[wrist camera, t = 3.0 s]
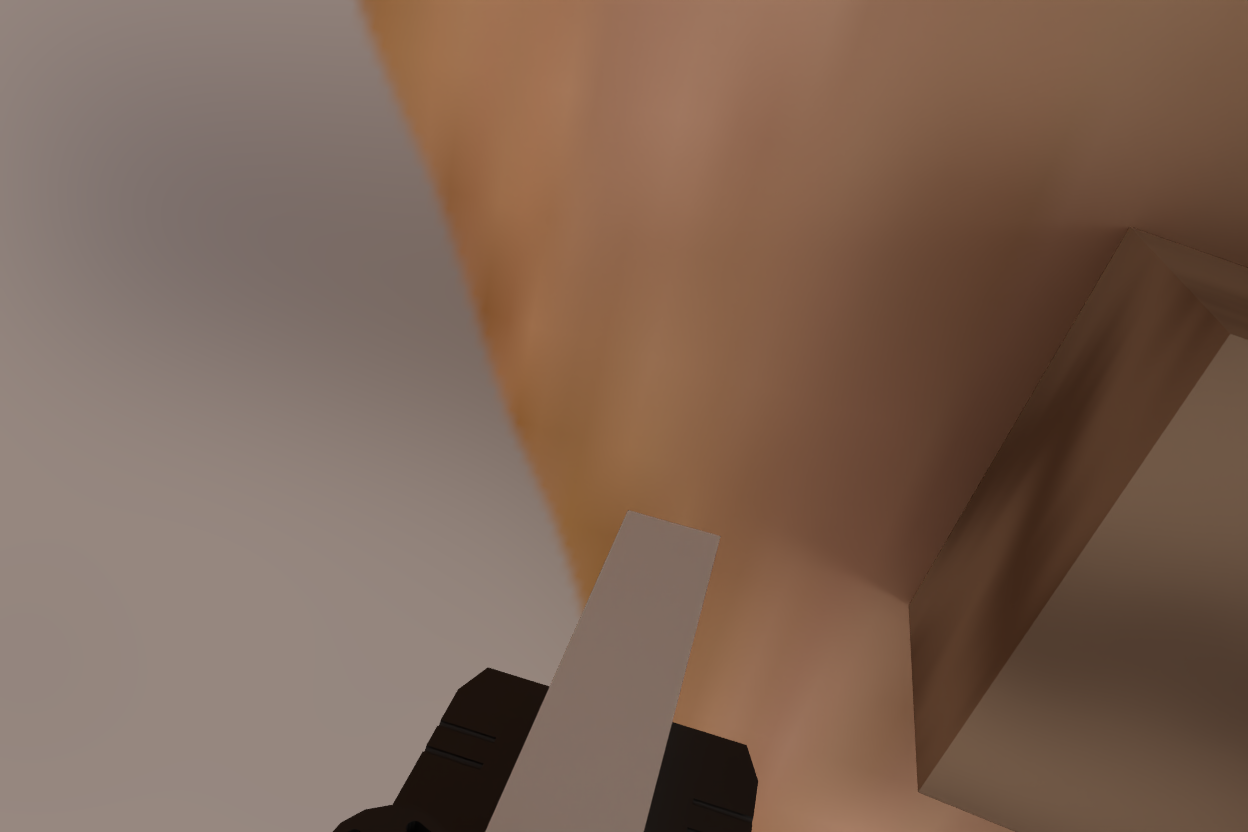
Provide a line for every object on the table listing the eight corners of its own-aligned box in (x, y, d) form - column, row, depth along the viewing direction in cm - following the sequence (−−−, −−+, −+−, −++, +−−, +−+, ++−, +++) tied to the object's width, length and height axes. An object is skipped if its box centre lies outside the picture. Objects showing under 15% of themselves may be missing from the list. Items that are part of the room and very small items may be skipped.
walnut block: (1128, 223, 18) (1230, 334, 13) (1543, 369, 17) (1828, 546, 12) (908, 600, 23) (917, 792, 18) (1226, 724, 22) (1334, 960, 17)
